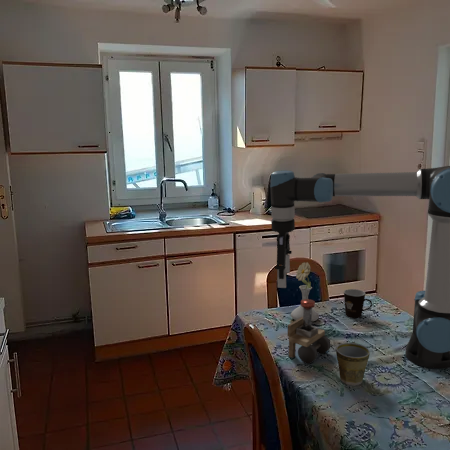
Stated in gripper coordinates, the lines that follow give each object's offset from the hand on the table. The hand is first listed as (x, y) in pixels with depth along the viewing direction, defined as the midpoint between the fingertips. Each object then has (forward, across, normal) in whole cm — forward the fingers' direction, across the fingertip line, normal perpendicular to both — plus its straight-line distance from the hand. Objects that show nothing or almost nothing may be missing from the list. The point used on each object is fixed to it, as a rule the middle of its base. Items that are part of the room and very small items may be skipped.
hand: (283, 279), depth 155 cm
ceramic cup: (+26, +15, +22) cm, 37 cm away
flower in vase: (+29, -28, +5) cm, 40 cm away
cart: (+26, +2, +8) cm, 28 cm away
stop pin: (+19, +1, +8) cm, 20 cm away
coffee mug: (+30, -35, +26) cm, 53 cm away
